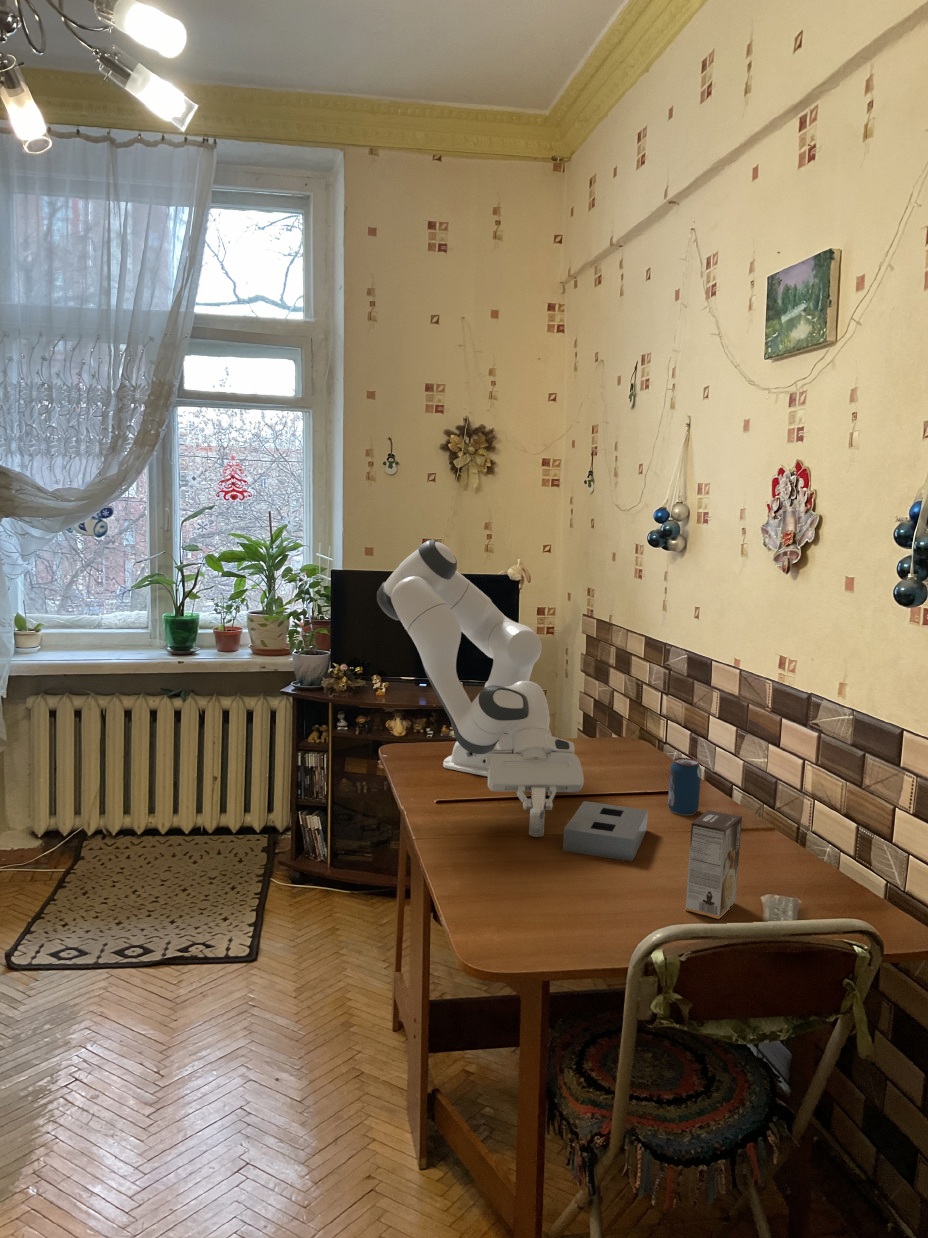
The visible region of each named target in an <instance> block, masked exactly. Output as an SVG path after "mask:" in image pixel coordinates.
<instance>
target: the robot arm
mask: <svg viewBox="0 0 928 1238" xmlns="http://www.w3.org/2000/svg"><path fill="white" fill-rule="evenodd" d="M457 568H458V560H457V558H456V556H455V555H454V554H453V552H452V550H451V549H450V547H448V546H446V544H444V543H442V542H441V541H439V540H437V539H436V540H435V539H434V540H433V539H429V540H427V541H425V542H423V543H422V544H420V545H419V546H418V548H417V549H416V550H414V551H413V552H412V553H411V554H409V555H408V556H407V557H406V558H405V559H404V560H402V562H400V563H399V565H398V567H397V568H396V569H395V570H394V571H393V572H392V573H391V574H390V576H389V577H388V578H387V579H386V581H384V582H382V584H381V585H380V587H379V588H378V589H377V592H376V601H377V602H376V603H377V604H378V606H379V608H380V609H381V610H382V612H383V613H385V614H386V615H387V616H388V617H389V618H390V619H393V620H395V621H400V623H401V624H402V627H404V630H406V632H407V634H408V635H409V637H410V638H411V640H412V642H413V643H414V645H415V647H416V649H417V652H418V653H419V657H420V659H421V662H422V666H423V669H424V672H425V675H426V677H427V679H428V681H429V684H430V686H431V687H432V689H433V690H434V692H435V694H436V696H437V698H438V700H439V702H440V703H441V705H442V707H443V709H444V711H445V713H446V714H447V717H448V719H449V721H450V723H451V727H452V732H453V734H454V737H455V740H456V741H455V744H454V745H453V748H452V753H451V755H448V756H447V757H446V758H444V760H443V764H442V765H443V767H444V769H448V770H454V771H458V772H462V773H469V774H473V775H478V776H482V777H487V788H488V789H489V790H490V791H491V792H516V796H517V797H518V799H519V800H520V802H521V803H522V806H523V810H531V807H532V804H531V798H528V797H527V796H526V794H525V793H527V792H529V793H531V787H532V786H536V785H539V786H544V787H546V793H547V795H548V796H549V797H548V798H545V811H552V810H553V807H554V806H553V805H554V804H553V801H554V798H555V796H556V794H557V793H579V792H580V791H581V790H582V788H583V787H584V786H583V785H584V783H585V779H584V772H583V767H582V765H581V761H580V759H579V757H578V756H577V754H575V743H573V742H572V741H568V740H565V739H561V738H558V737H556V736H553V734H552V733H551V730H550V721H551V719H550V710H549V704H548V700H547V697H546V694H545V691H544V690H543V689H542V687H541V686H540V685H539V684H538V683H536V682H533V681H530V678H531V675H532V672H533V668H534V665H535V663H537V661H538V660H539V659H540V656H541V654H542V649H543V646H542V640H541V639H540V637H539V636H538V634H537V633H536V632H535V631H534V630H533V629H532V628H531V627H529V626H527V625H526V624H525V625H524V624H522V623H519V622H516V621H514V620H512V619H511V618H509V617H507V616H506V615H504V613H503V612H502V611H501V610H499V608H498V607H497V606H496V605H495V604H494V603H493V601H492V599H491V598H490V597H489V596H488V595H487V594H485V593H484V592H483V591H482V590H481V589H479V588H478V587H477V586H476V585H475V584H474V583H472V582H471V581H470V580H469V579H467V578H466V577H465V576H464V575H463V574H461V573H460V572H459V571H457ZM462 634H463V635H465V637H466V638H467V639H468V640H469V641H470V642H472V644H474V645H475V646H476V647H477V648H478V649H479V650H480V651H481V652H483V653H484V655H486V656H487V657H488V658H490V659H493V660H492V661H493V662H492V667H491V670H490V674H489V677H488V680H487V681H486V682H485V684H484V688H483V689H482V690H481V691H480V692H479V693H478V694H477V696H476V697H475V698H474V700H472V702H471V700H470V698H469V695H468V694H467V692H466V690H465V688H464V686H463V685H462V683H461V681H460V680H459V677H458V672H457V660H458V659H457V658H458V652H459V647H460V644H461V638H462Z"/></svg>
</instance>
